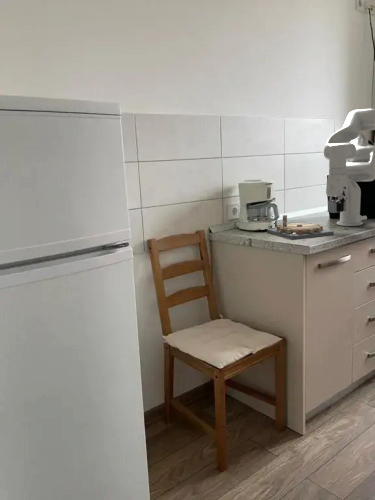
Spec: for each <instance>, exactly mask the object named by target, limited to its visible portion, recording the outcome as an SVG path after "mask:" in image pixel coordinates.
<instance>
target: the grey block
mask: <svg viewBox="0 0 375 500" xmlns="http://www.w3.org/2000/svg"><path fill="white" fill-rule="evenodd" d="M337 205H338V199H336V200H331V201H329V200H328V201H327V213H331V214H335V213H338V212H337ZM344 211H346V200H345V203H344ZM344 211H342V212H344Z"/></svg>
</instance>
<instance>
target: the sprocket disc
mask: <svg viewBox="0 0 375 500" xmlns="http://www.w3.org/2000/svg"><path fill="white" fill-rule="evenodd" d="M323 229H324V226H323V225H320V224H319V223H318V224H316V223H315V224H314V223H309V222H307V223H301V222H296V223H288V215H286V214H284V215H282V224H279V225H278V226H277V230H279V232H287V233H298V234H302V233H314V232H320V231H321V230H323Z"/></svg>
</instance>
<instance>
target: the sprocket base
mask: <svg viewBox="0 0 375 500" xmlns="http://www.w3.org/2000/svg"><path fill="white" fill-rule="evenodd" d="M266 233H269V234H272V235H275V236H279V237H283V238H286V239H289V240H290V239H291V240H301V239H307V238H308V239H309V238H316V237H327V236H334V235H335V231H333V230H328V229H324V228H323V230H321V231H320V232H314V233H302V234H298V233H287V232H279V230H277V228H276V227H275V228H274V229H267V230H266Z"/></svg>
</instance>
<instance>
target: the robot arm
mask: <svg viewBox="0 0 375 500" xmlns="http://www.w3.org/2000/svg"><path fill="white" fill-rule="evenodd" d="M362 131H363V132H365V131H375V108H363V109H354V110H352V111H350V112H349V113H348V114H347V117H346V119H345V121H344V124H343V125H342V127H341V128H340V129H338V130H336V132H334V133H333V134H331V135H330V136H329V138H328V139H327V141H326V143H325V145H324V149H323V157H324V158H325V159H326V160H328V162H329V163H328V175H327V179H326V186H325V187H326V188H325V192H326V193H325V195H326V197H328V201H331V200H338V205H337V213H339V220H337V222H336V225H338V226H343V227H356V226H359V227H360V226H362V225H363V220H367V219H368V217H367V215H363V216H362V215H361V197H362V194H361V193H362V191H361V190H362V189H361V188H360V186H359V184H358V183H357V182H372V181H375V144H371V145H370V144H369V140H368V139H369V138H368V137H367V136H366V135H365V133H363V132H362ZM345 200H346V211H344V203H345ZM342 211H344V212H342Z"/></svg>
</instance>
